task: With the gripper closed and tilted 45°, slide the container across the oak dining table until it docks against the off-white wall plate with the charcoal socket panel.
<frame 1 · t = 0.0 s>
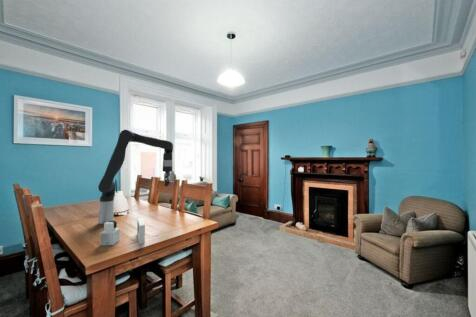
hand: (167, 185, 172), 29 cm above the table, tool pointing down, fingers open, 8 cm apart
container: (110, 243, 129), on the table
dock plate: (139, 238, 137), on the table
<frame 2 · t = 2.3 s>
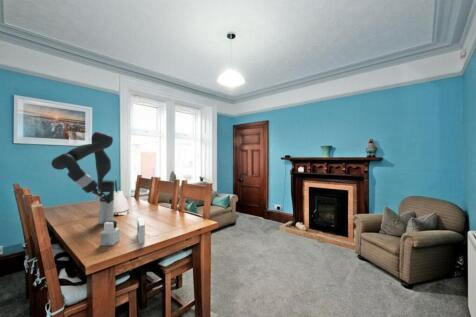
hand: (107, 201, 130), 25 cm above the table, tool tilted 40°, fingers open, 8 cm apart
nothing on the table moved.
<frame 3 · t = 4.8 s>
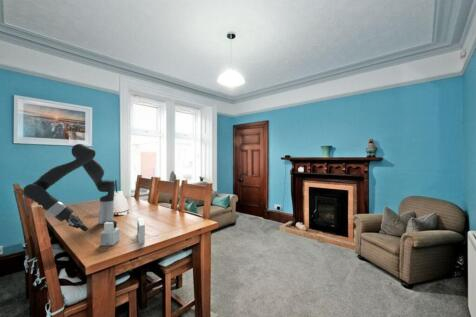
hand: (86, 230, 123), 10 cm above the table, tool tilted 45°, fingers closed
nothing on the table moved.
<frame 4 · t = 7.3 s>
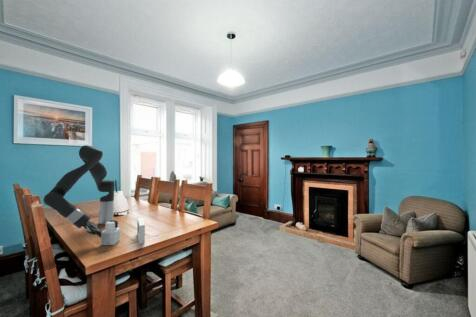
hand: (102, 236, 127), 5 cm above the table, tool tilted 45°, fingers closed
container: (110, 242, 129), on the table, touching gripper
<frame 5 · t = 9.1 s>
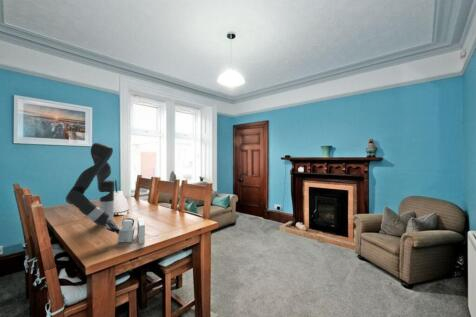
hand: (121, 233, 132), 5 cm above the table, tool tilted 45°, fingers closed
container: (125, 240, 133), on the table, touching gripper
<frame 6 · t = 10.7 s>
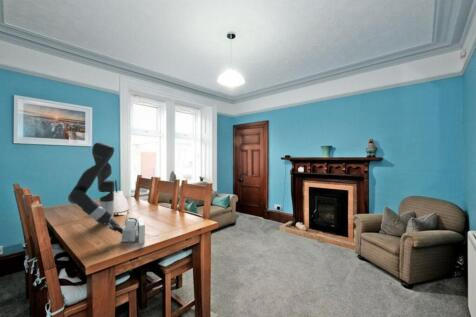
hand: (123, 232, 132), 5 cm above the table, tool tilted 45°, fingers closed
container: (128, 239, 134), on the table, touching gripper
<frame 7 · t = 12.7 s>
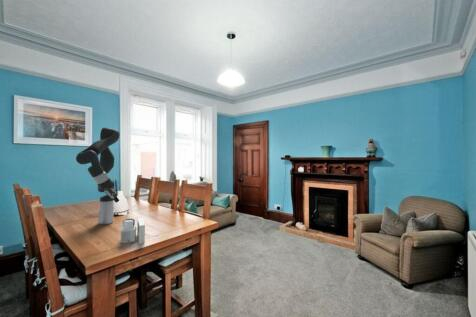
hand: (117, 201, 139), 23 cm above the table, tool tilted 30°, fingers closed
container: (128, 240, 134), on the table
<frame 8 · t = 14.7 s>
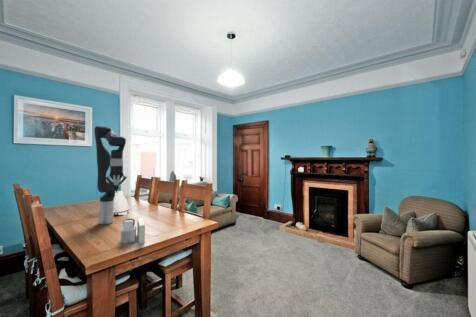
hand: (116, 190, 146), 29 cm above the table, tool pointing down, fingers closed
nothing on the table moved.
at the end: container 6.5 cm from the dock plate (horizontally); container moved 10.0 cm from its start; container tilted 0° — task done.
